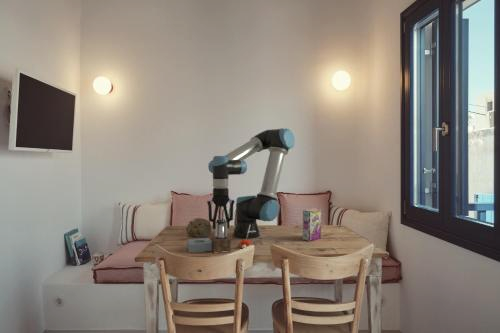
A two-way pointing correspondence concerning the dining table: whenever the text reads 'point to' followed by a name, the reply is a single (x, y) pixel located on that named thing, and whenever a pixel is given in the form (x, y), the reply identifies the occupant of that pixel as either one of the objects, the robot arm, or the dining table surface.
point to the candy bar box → (311, 224)
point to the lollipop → (245, 242)
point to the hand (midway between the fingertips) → (221, 235)
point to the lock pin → (221, 228)
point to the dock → (199, 245)
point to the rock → (199, 228)
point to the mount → (221, 244)
